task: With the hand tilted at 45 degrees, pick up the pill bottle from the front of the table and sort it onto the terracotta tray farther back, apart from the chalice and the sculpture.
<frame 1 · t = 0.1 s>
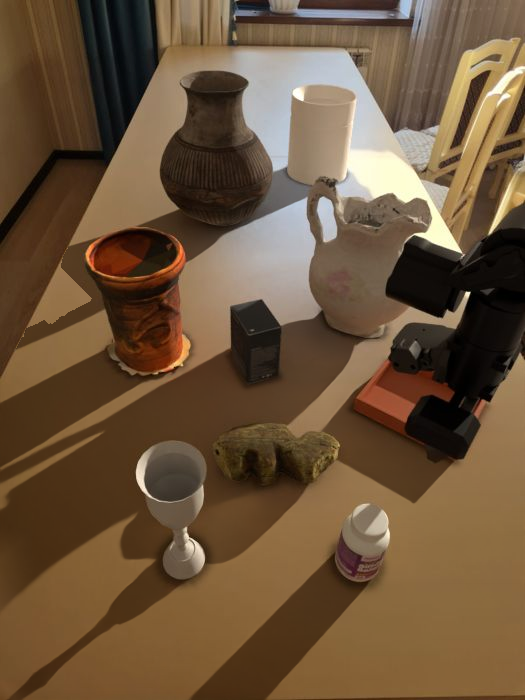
hand: (446, 434, 63), 13 cm above the table, tool pointing down, fingers open, 9 cm apart
ceramic pitcher: (349, 314, 101), on the table
vessel: (150, 352, 92), on the table
chalice: (184, 559, 65), on the table
sculpture: (275, 463, 75), on the table
tray: (419, 407, 84), on the table
pill bottle: (356, 562, 65), on the table
box: (254, 366, 90), on the table
vase: (218, 218, 126), on the table
canister: (316, 173, 146), on the table
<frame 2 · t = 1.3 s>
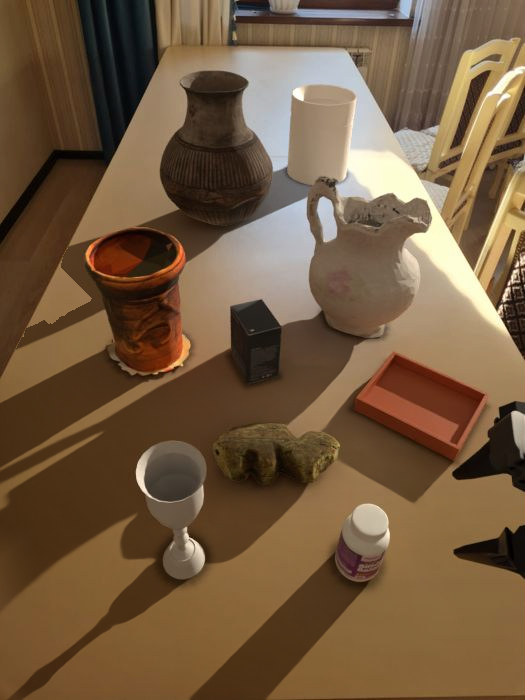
hand: (454, 513, 55), 13 cm above the table, tool tilted 40°, fingers open, 9 cm apart
nothing on the table moved.
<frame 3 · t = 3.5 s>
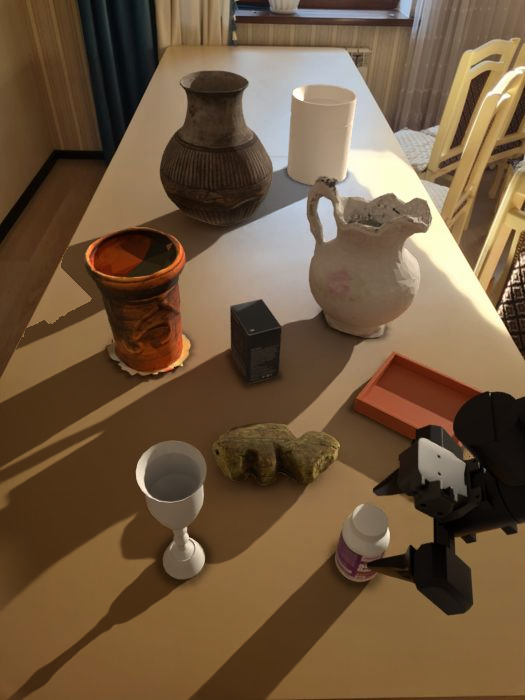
hand: (372, 527, 59), 8 cm above the table, tool tilted 45°, fingers open, 9 cm apart
nothing on the table moved.
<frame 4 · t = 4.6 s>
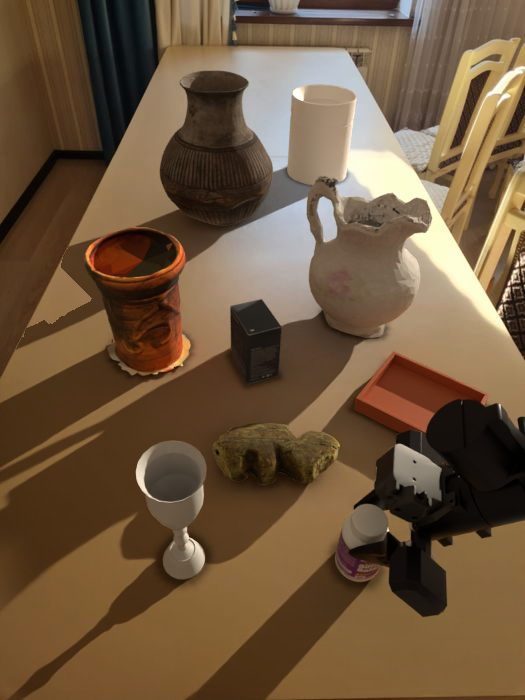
hand: (353, 530, 61), 7 cm above the table, tool tilted 45°, fingers closed on pill bottle, 5 cm apart
pill bottle: (356, 562, 65), on the table, touching gripper
everything else where it was.
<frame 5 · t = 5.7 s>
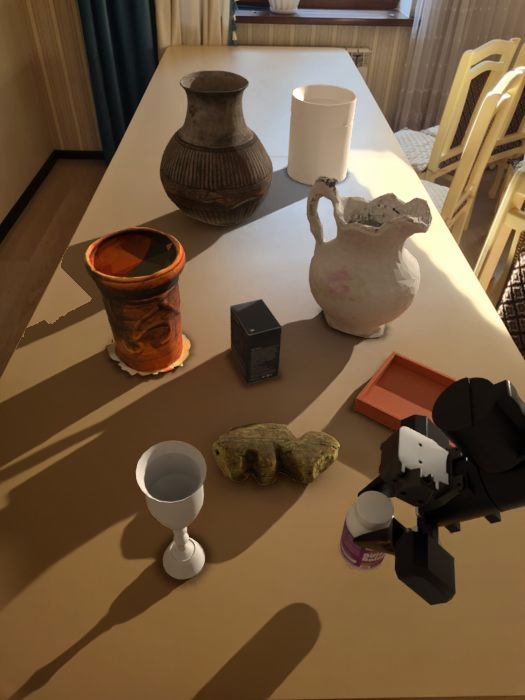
hand: (357, 518, 59), 9 cm above the table, tool tilted 45°, fingers closed on pill bottle, 5 cm apart
pill bottle: (361, 552, 63), point 2 cm above the table, touching gripper
everything else where it was.
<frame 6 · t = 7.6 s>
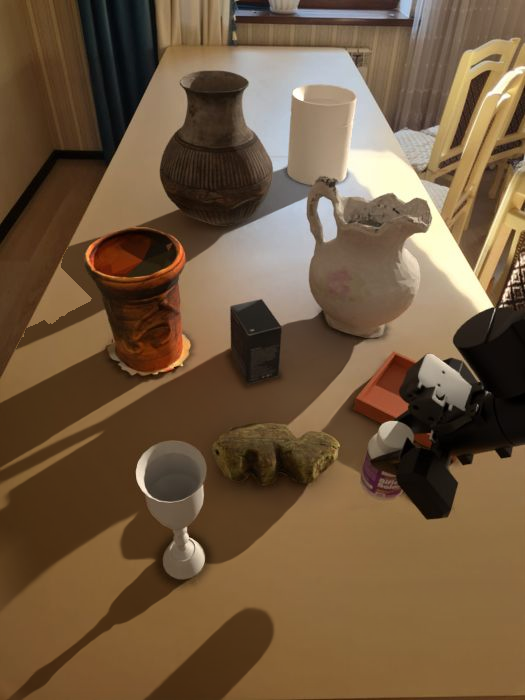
hand: (379, 446, 63), 12 cm above the table, tool tilted 45°, fingers closed on pill bottle, 5 cm apart
pill bottle: (381, 484, 67), point 5 cm above the table, touching gripper
everything else where it was.
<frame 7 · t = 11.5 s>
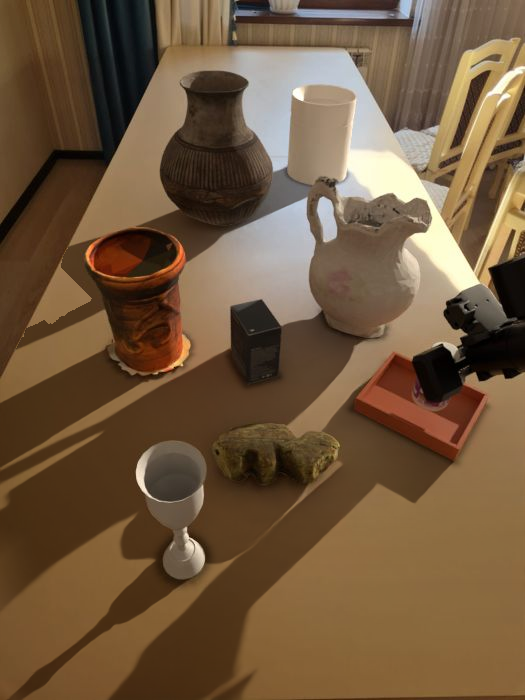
hand: (433, 361, 77), 10 cm above the table, tool tilted 45°, fingers closed on pill bottle, 5 cm apart
pill bottle: (429, 400, 80), point 3 cm above the table, touching gripper
everything else where it was.
when the fingers open (7 cm above the table, at t = 12.8 s): pill bottle stays where it is, resting on tray.
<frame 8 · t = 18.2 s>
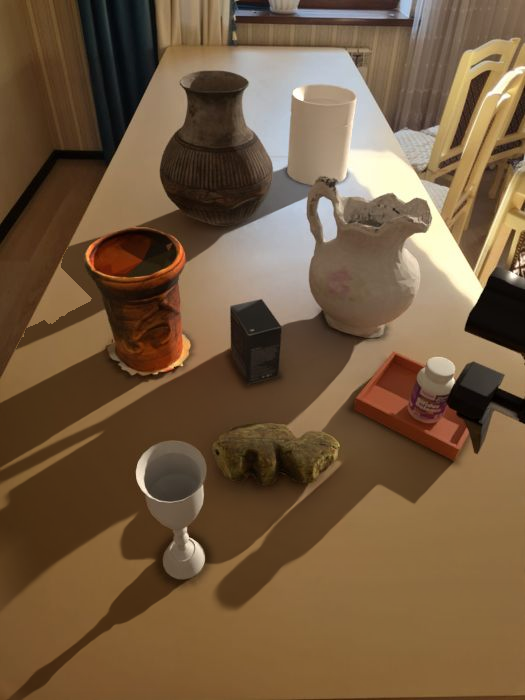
hand: (517, 471, 60), 13 cm above the table, tool pointing down, fingers open, 9 cm apart
pill bottle: (424, 412, 82), point 1 cm above the table, touching tray
everything else where it was.
at the end: pill bottle inside the target area in the tray (1.6 cm from its centre), point 0.6 cm above the tray's base; pill bottle tilted 0°; the gripper is holding nothing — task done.
